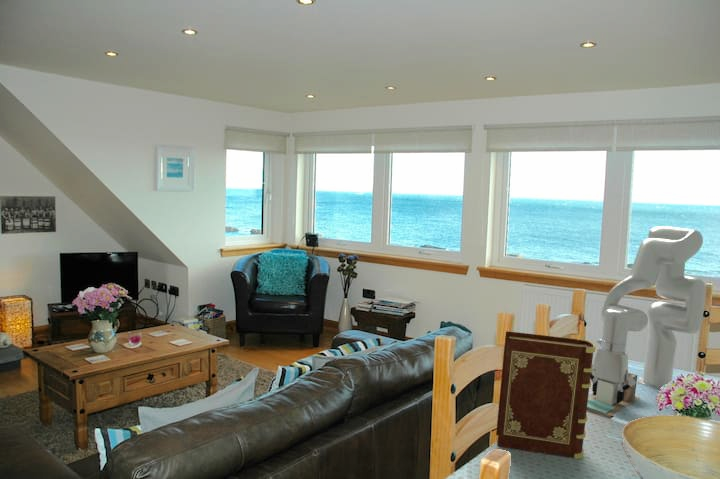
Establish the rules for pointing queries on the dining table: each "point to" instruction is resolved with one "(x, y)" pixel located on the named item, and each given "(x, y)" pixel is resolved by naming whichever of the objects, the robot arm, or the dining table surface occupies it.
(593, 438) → the dining table surface
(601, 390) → the carton
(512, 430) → the decorative book
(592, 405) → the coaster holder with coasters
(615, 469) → the dining table surface
